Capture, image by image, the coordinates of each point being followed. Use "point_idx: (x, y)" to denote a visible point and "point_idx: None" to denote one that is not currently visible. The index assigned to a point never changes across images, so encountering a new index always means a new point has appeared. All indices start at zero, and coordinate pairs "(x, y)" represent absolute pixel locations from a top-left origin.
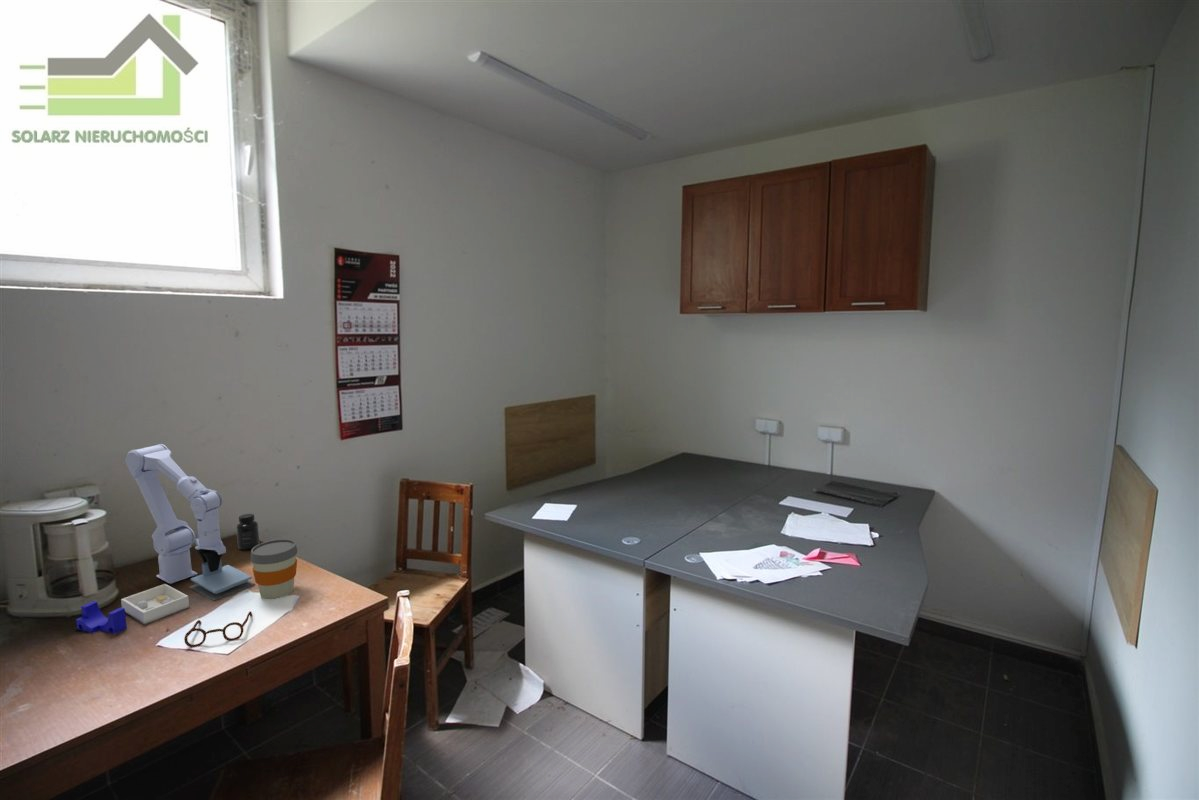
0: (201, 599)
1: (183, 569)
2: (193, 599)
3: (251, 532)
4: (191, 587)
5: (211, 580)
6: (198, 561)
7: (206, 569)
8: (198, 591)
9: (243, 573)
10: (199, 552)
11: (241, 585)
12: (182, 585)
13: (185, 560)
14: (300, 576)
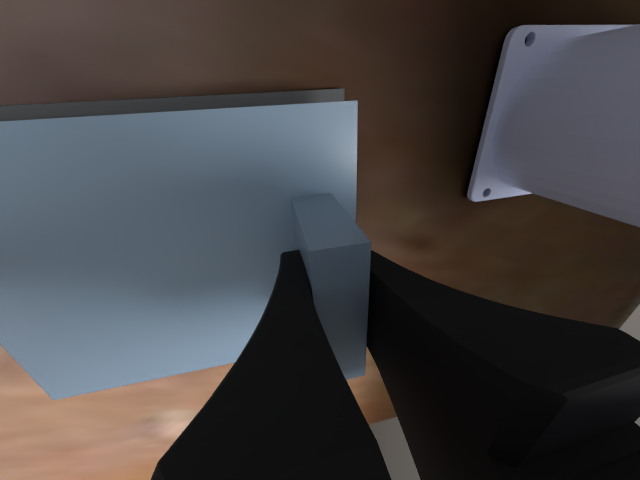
0: (26, 53)
1: (548, 136)
2: (76, 2)
3: None
4: (321, 96)
5: (172, 208)
6: (568, 243)
7: (300, 239)
8: (201, 98)
9: (145, 375)
10: (544, 392)
11: None
12: (420, 80)
13: (624, 172)
14: (57, 475)
